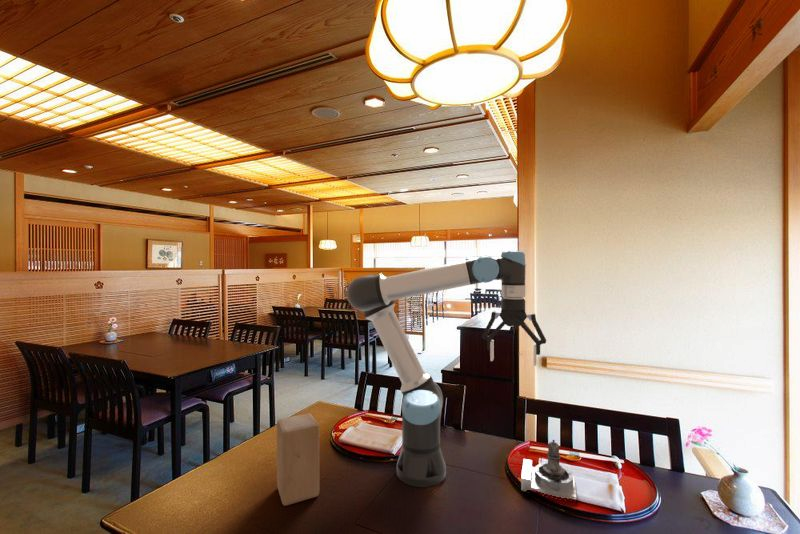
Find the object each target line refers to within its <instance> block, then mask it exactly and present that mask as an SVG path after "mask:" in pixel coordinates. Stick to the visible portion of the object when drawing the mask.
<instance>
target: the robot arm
mask: <svg viewBox="0 0 800 534" xmlns="http://www.w3.org/2000/svg"><path fill="white" fill-rule="evenodd" d="M526 266H527V264H526V254H525V252H523V251H520V250H512V251H511V250H510V251H509V250H507V251H502V252H501V255H500V256H499V257H497V256H496V257H492V256H488V255H483V256H477V257H476V256H472V257H466V258H465V260H461V261H457V262H451V263H447V264H442V265H437V266H434V267H433V266H431V267H428V268H423V269H419V270H414V271H410V272H403V273H400V274H396V275H390V276H385V275H383V274H381V275H377V274H368V275H361V276H358V277H356V278H354V279H352V280H351V281H350V283H349V284H348V286H347V289H346V299H347V301H348V303H349V305H350V306H351V307H352V308H353V309H355V310H356V311H360V312H362V314H363V317H364V318H365V320H368V321H370V322H371V323H372V325H373V327H374V329H375V331H376V333H377V335H378V336H379V339H380V341H381V343H382V346H383V347H384V349H385V352H386V353H387V356H388V357H389V359H390V362H391V363H392V366H393V368H394V369H395V372H396V374H397V376H398V379H399V380H400V382H401V387H400V392H401V394H402V396H403V397H402V398H403V399H402V401H401V403H402V404H401V413H402V414H401V415H402V417H401V419H402V421H401V422H402V423H401V424H402V425H401V429H402V430H401V432H402V433H401V434H402V435H401V441H402V443H401V444H402V445H401V449H400V453H399V456H398V459H397V462H396V476H397V478H398V479H399V480H400V481H401V482H402V483H404V484H406V485H408V486H411V487H414V488H415V487H416V488H429V487H434V486H436V485H439V484H440V483H442V482H444V480H445V479H446V477H447V466H446V465H447V464H446V462H445V459H444V456H443V453H442V450H441V417H442V409H443V404H444V395H443V392H442V389H441V387H440V386H439V385H438V384H437V383H436V382H435V381H434V379H433V377H432V375H431V374H430V373H428V372H425V370H424V369H423V366H422V365H421V363H420V361H419V359H418V357H417V354H416V353H415V351H414V348H413V347H412V345H411V343H410V341H409V338H408V337H407V334H406V332H405V330H404V329H403V327H402V325H401V323H400V320H399V319H398V315H396V311H394V310H395V309H394V308H395V306H396V303H395V301H398V300H402V299H406V298H407V299H408V298H412V297H417V296H422V295H426V294H430V293H431V294H432V293H435V292H436V293H437V292H441V291H445V290H446V291H447V290H451V289H457V288H461V287H465V286H470V285H471V286H472V285H476V284H482V283H484V284H485V283H490V282H492V281H493V282H494V280H495V281H499V280H500V281H501V291H500V292H501V293H500V296H501V297H502V298H501V300H500V302H501V303H500V305H501V311H500V312H497V311H495V310H493V311H492V312H491V314H490V315H491V316H490V320H489V321H488V324H487V325H486V326H485V329H484V331H483V333H482V334H481V339H483V340H486V349H487V351H489V356H490V357H489V358H490V360H489V361H490V362H493V361H494V359H495V355H494V354H495V350H494V349H495V345H494V344H495V340H494V339H493V338H494V337H495V336H496V335H497V334H498V333H499V332H500V330H501V329H502V328H503V327H504V326H507V327H515V328H518V327H521V328H522V329H523V330H524V331H525V333H526V334H527V335H528V336H529V337H530V338H531V340H532V341H533V342H534V343H533V366H535V367H536V366H537V355H538V356H540V354H541V345H543V344H546V343H547V339H546V337H545V335H544V333H543V331H542V329H541V327H540V325H539V323H538V320H537V317H536V313H534V312H532V313H527V312H526V299H525V297H526ZM498 317H500V318H501V320H502V322H501V323H500V324H498V326H496V328H495V329H494V330H493V331H492V332H491V333H490V335H488V334H489V332H490V330H491V328H492V326H493V325H494V323H495V320H496V319H498ZM526 319H528V320H529V321H531V323H532V325H533V327H534V329H535V331H536V333H537V335H538V337H539V338H540V339H539V338H538V337H537V336H536V334H535V333H534V332H533V331H532V330H531V328H530V327H529V326H528V324H527V323H526V322H525V320H526Z"/></svg>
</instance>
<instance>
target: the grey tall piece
mask: <svg viewBox="0 0 800 534" xmlns="http://www.w3.org/2000/svg"><path fill="white" fill-rule="evenodd" d="M547 446H548V447H547V453H546V456H547V462H545V463H546V464H544V465H543V469H544V473H545V475H546V476H545V477H546V478H548V479H550V480H555V481H563V480H562V479H561V478H562V477H563V475H564V473H565V470H564V468H562V467H561V466H562V465H560V459H561V455H560V445H559V444H558V443H557V442H556V440H555V439H552V441H550V442H549V443H548V444H547Z"/></svg>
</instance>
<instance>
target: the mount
mask: <svg viewBox="0 0 800 534" xmlns="http://www.w3.org/2000/svg"><path fill="white" fill-rule="evenodd" d="M522 461H523V462H522V469H521V477H520V487H521V488H520V489H521V490H520V491H522V492H526V491H527V490H535V491H538V492H541V493H544V494H548V495H552V496H556V497H561V498H567V499H569V498H570V497H571V498H576V499H577V494H576V493H577V492H576V485H575V484H576V483H575V477H574V476H575V475H574V474H573V472H571V471H570V470H569V469H568V468H567V467H565V466H563V465H560V466H561V467H562V468H564V470H565V473H564V475H563V477H562V478H561V479H562V480H563V481H555V480H550V479H548V478H546V477H545V476H546V475H545V473H544V469H543V465H544V464H546V463H547V462H540V463H538V464H537V465H535V466H533V460H532V459H527V458H523V460H522Z"/></svg>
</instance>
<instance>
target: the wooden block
mask: <svg viewBox="0 0 800 534" xmlns="http://www.w3.org/2000/svg"><path fill="white" fill-rule="evenodd" d="M276 486H277V490H278V494H279V497H280V501H281V504H282V506H290V505H293V504H297V503H299V502H303V501H306V500H309V499H313V498H316V497H318V496H319V494H320V425H319V423H318V422H317V421H316V419H315V418H314V416H313V414H312V413H304V414H298V415H292V416H288V417H287V416H286V417H283V418H279V419H277V421H276Z"/></svg>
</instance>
